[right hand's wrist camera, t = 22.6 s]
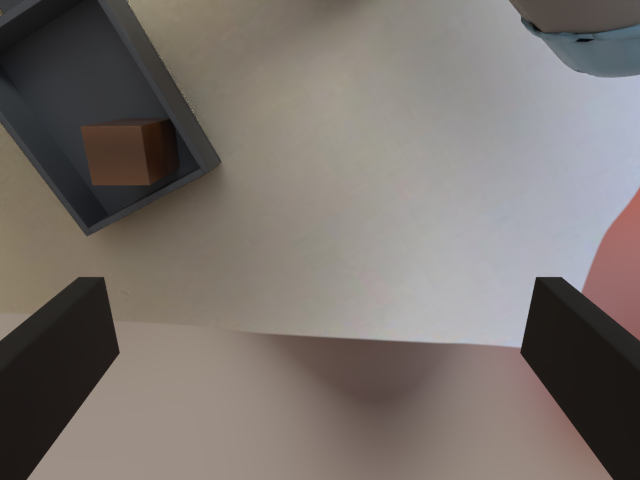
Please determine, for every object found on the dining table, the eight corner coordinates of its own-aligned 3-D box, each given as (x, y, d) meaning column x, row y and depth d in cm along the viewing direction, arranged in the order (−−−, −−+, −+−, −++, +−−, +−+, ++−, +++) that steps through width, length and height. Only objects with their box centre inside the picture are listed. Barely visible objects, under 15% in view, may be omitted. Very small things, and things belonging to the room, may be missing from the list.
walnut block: (124, 117, 38) (80, 126, 31) (173, 117, 38) (140, 126, 31) (132, 166, 39) (92, 185, 32) (180, 166, 39) (149, 185, 32)
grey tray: (-68, -25, 34) (-159, -50, 28) (58, -114, 32) (-8, -164, 26) (110, 220, 42) (72, 246, 35) (221, 161, 40) (202, 177, 33)
